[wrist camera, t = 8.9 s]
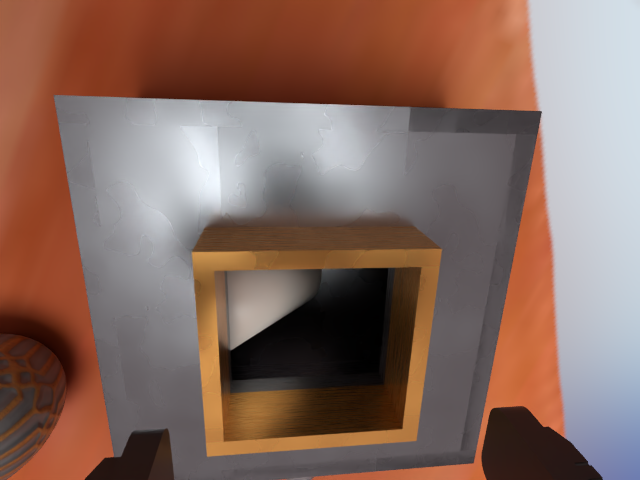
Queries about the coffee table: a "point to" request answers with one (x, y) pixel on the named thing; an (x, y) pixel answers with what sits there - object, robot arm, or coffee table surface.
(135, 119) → the grey box with opening
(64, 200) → the coffee table surface
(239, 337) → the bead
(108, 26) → the coffee table surface
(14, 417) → the vase
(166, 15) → the coffee table surface
